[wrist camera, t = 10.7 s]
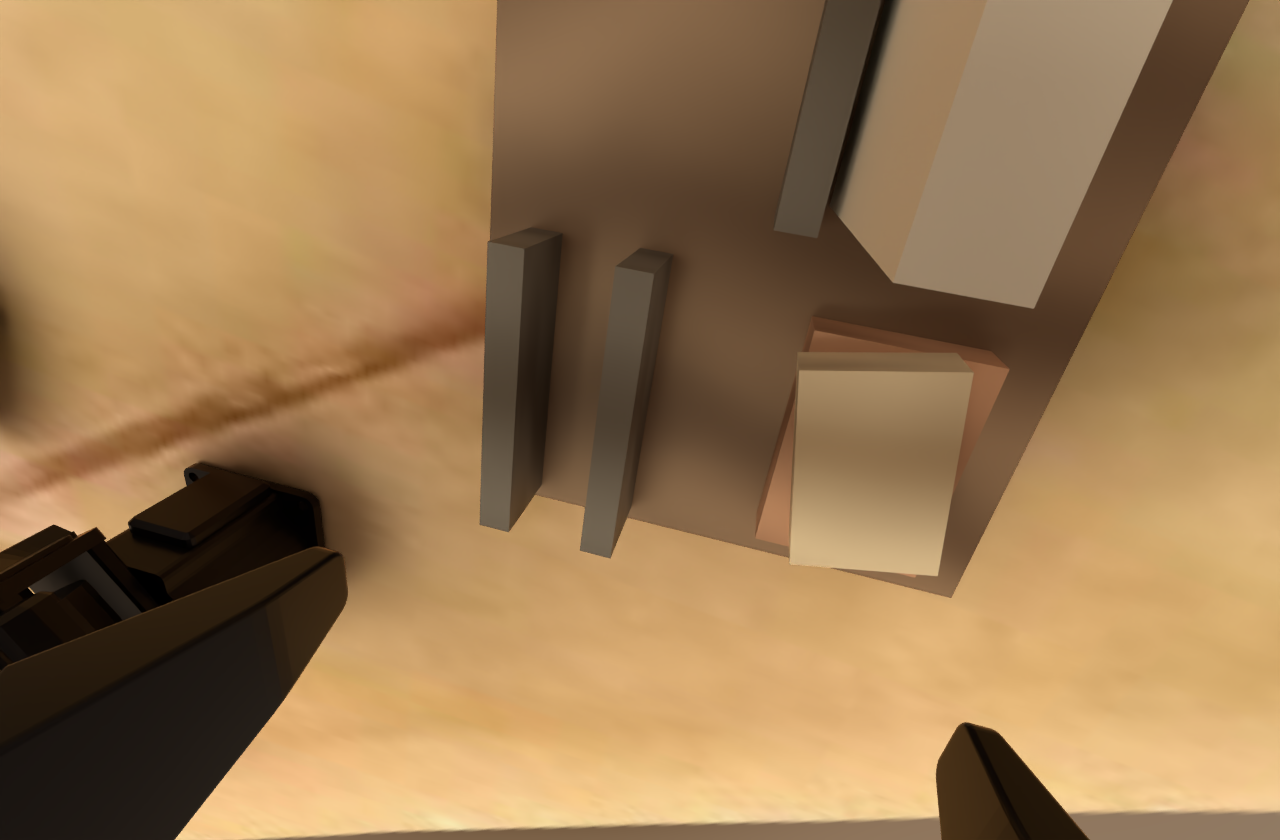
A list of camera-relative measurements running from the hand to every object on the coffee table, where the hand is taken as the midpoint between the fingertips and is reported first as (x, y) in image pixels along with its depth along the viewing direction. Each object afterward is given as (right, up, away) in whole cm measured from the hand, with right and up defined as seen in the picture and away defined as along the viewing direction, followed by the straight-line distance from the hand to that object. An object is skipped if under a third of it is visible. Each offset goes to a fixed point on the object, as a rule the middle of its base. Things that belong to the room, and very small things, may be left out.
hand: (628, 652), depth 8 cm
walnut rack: (+4, +9, +10) cm, 14 cm away
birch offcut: (+7, +2, +9) cm, 11 cm away
